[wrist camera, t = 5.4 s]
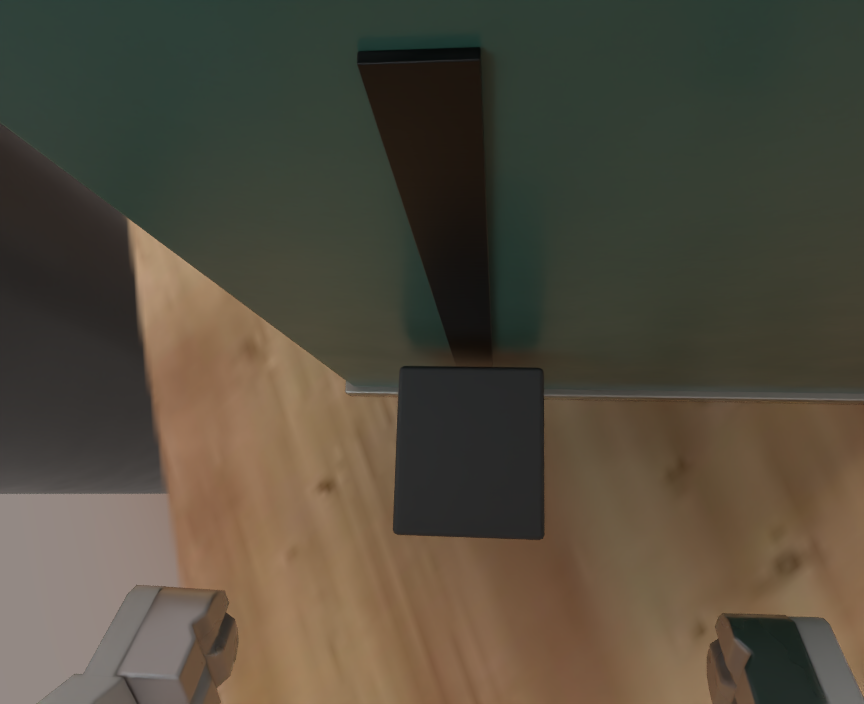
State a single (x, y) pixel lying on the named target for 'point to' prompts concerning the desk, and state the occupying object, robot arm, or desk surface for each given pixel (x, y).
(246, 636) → the desk surface
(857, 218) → the toaster
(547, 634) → the desk surface
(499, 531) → the handle
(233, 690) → the desk surface
